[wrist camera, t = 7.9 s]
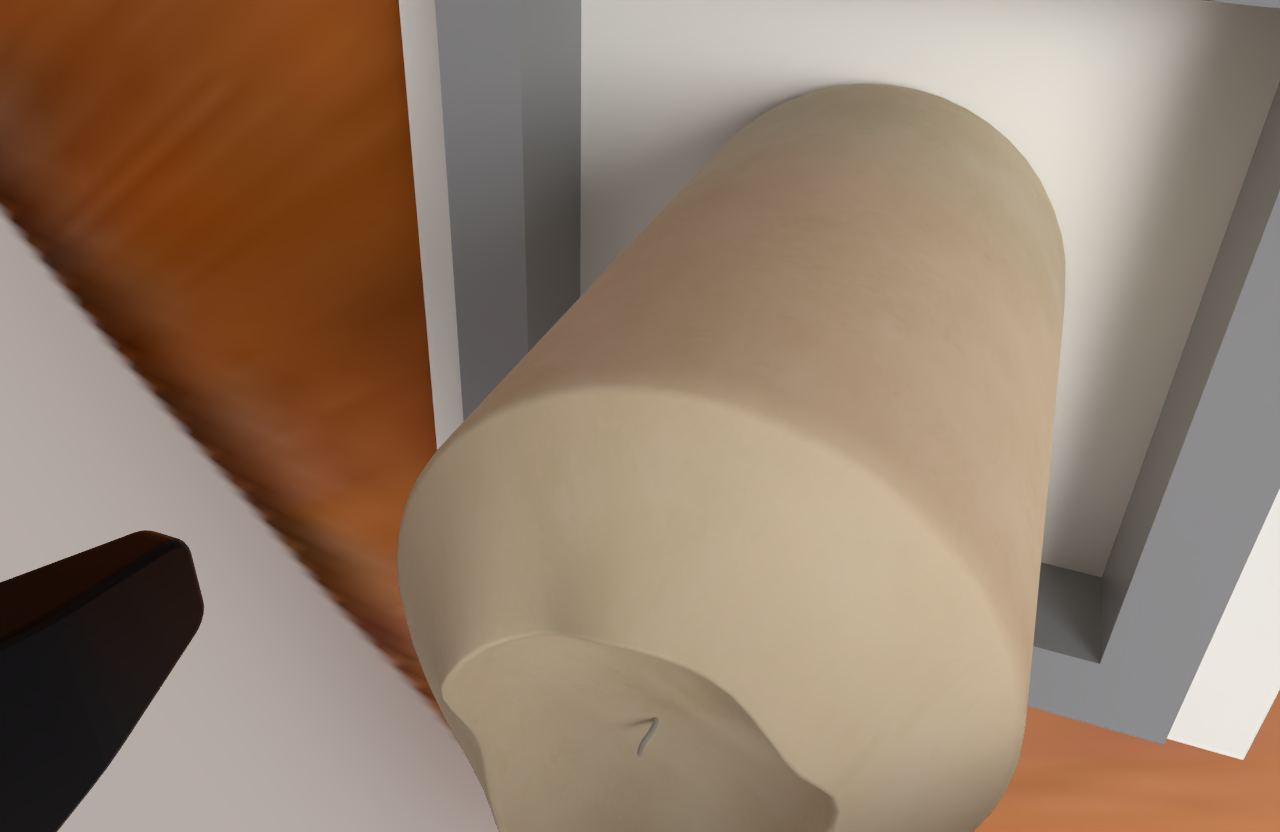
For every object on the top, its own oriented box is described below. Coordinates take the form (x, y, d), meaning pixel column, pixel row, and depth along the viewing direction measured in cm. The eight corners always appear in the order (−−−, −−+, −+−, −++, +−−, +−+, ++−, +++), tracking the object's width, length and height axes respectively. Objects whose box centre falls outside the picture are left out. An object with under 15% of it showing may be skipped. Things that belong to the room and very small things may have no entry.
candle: (901, 487, 18) (723, 1109, 10) (627, 289, 18) (225, 752, 10) (1161, 240, 14) (1213, 885, 6) (823, -8, 14) (451, 332, 6)
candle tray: (1771, -337, 10) (1947, -351, 8) (1238, 725, 19) (1254, 859, 16) (399, -368, 14) (270, -384, 12) (462, 511, 23) (392, 596, 21)
